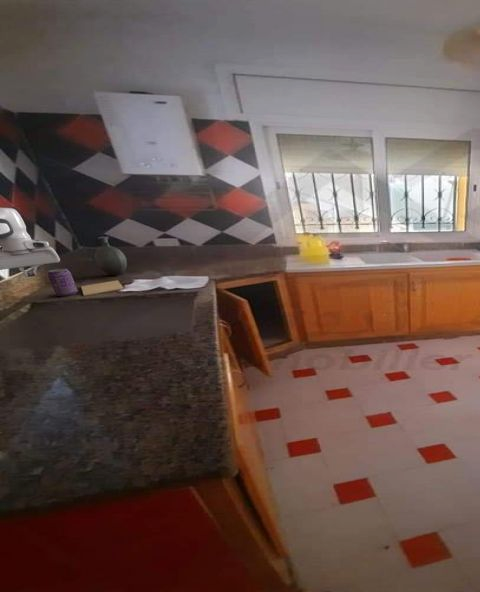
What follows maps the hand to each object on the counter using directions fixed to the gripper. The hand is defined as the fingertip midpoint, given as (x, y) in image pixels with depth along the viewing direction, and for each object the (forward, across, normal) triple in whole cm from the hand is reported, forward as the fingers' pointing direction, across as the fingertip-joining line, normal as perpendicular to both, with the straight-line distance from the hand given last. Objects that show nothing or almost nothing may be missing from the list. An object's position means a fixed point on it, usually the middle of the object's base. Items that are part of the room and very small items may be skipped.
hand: (31, 276), depth 140 cm
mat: (+11, +20, +1) cm, 23 cm away
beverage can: (+11, +8, 0) cm, 14 cm away
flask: (+11, +28, +29) cm, 42 cm away
